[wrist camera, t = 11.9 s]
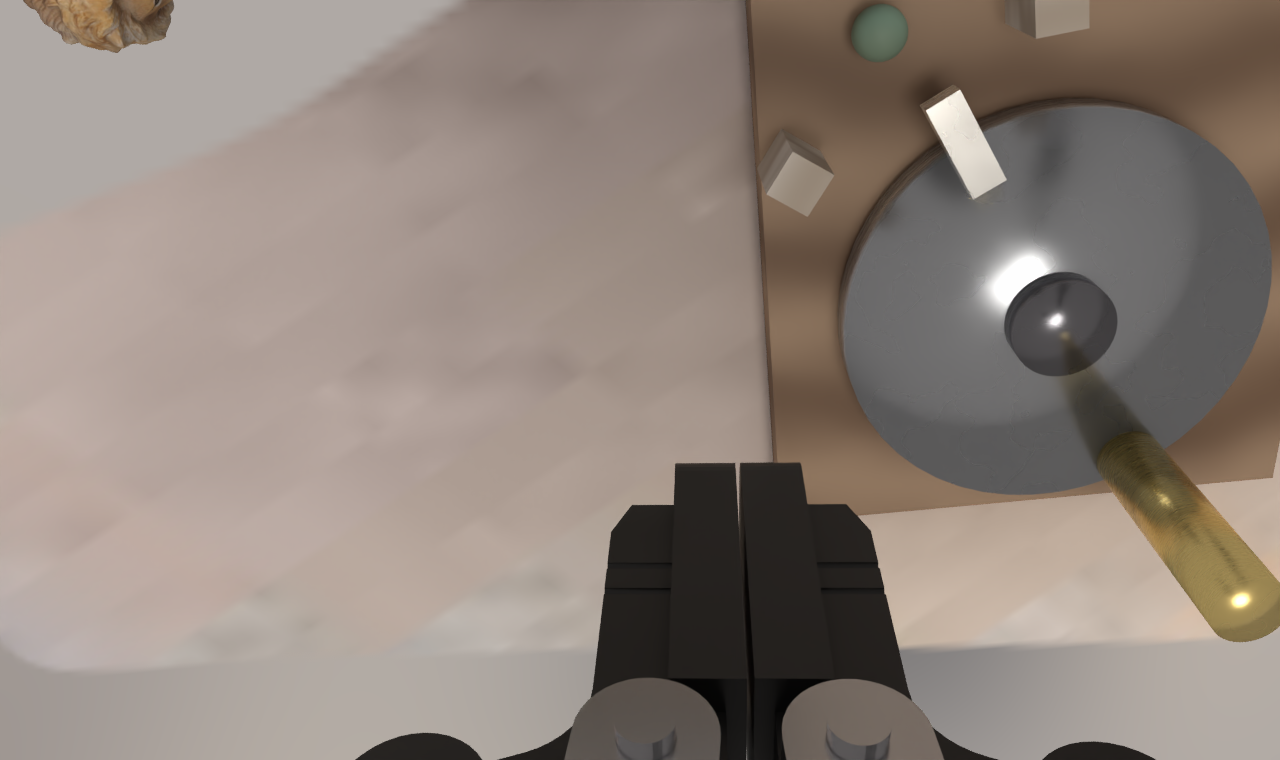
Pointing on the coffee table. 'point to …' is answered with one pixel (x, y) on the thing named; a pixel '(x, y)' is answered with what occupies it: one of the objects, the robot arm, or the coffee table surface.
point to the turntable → (900, 134)
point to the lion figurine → (106, 21)
